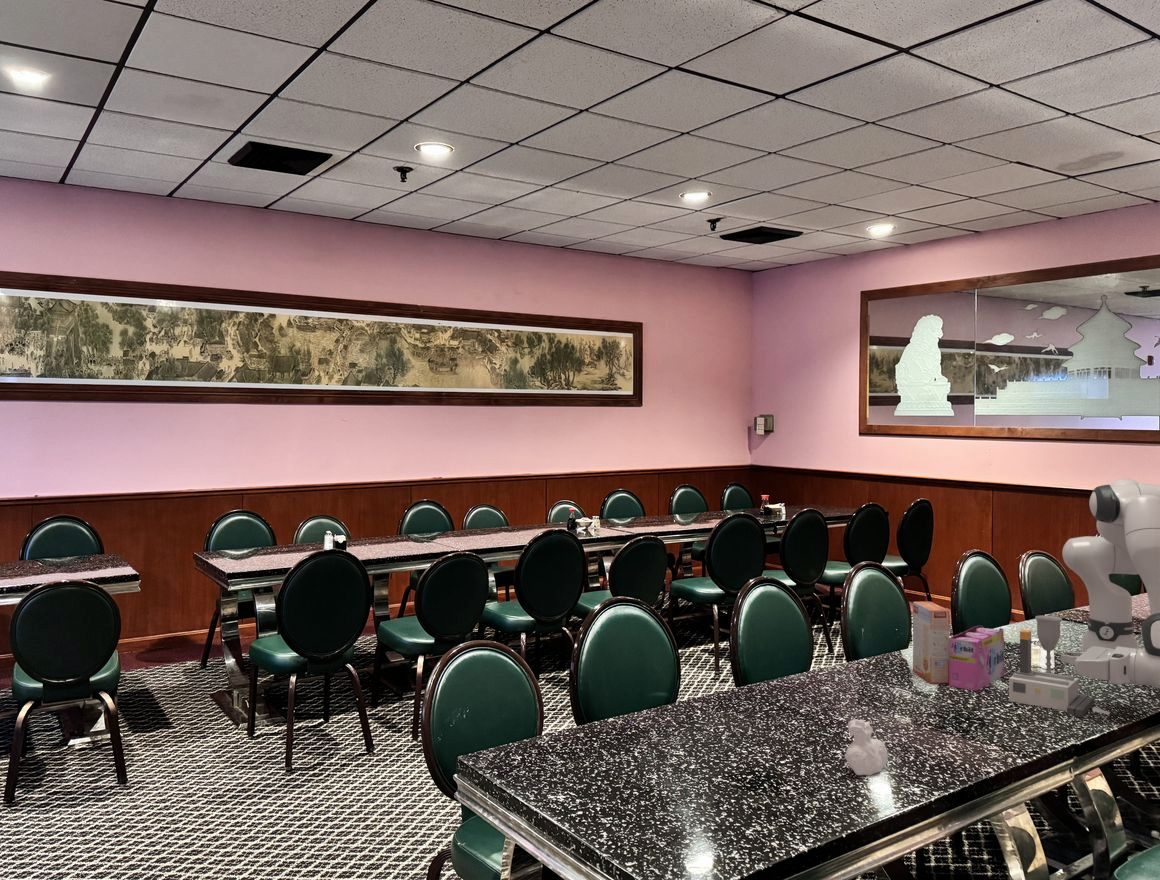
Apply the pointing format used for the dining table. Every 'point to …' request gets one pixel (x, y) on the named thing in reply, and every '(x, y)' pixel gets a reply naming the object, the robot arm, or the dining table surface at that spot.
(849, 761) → the bust
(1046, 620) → the chalice
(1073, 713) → the dark grey grooved bar
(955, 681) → the gum box
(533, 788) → the dining table surface
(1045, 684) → the box
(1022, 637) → the breaker lever
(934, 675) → the cracker box
